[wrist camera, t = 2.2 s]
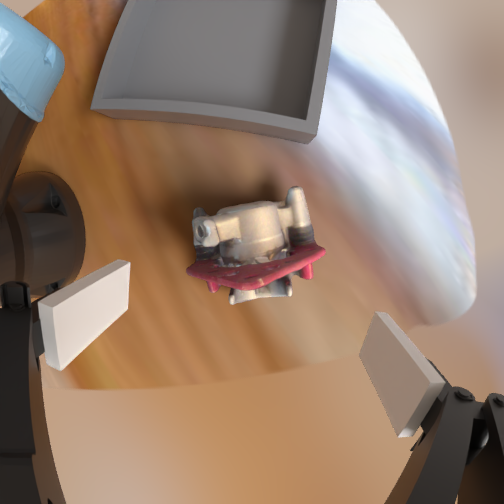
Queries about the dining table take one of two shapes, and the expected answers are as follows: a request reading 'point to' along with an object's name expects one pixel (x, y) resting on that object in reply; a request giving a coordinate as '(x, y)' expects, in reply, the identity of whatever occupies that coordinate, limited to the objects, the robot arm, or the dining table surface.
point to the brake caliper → (255, 247)
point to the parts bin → (220, 65)
